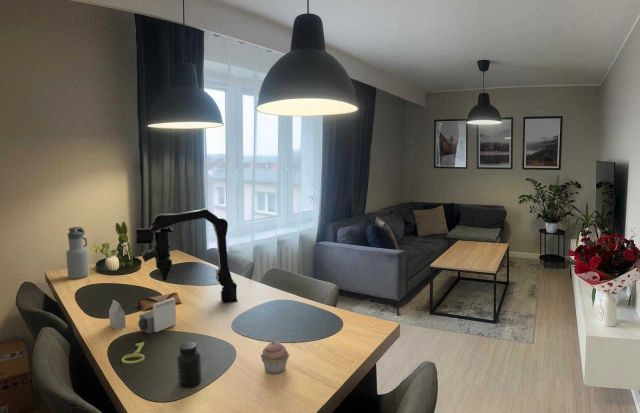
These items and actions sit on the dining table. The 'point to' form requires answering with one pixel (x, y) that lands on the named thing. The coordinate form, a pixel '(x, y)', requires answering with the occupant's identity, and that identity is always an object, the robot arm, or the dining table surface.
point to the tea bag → (117, 316)
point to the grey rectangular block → (146, 322)
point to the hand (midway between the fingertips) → (163, 277)
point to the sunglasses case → (156, 301)
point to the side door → (164, 314)
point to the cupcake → (274, 357)
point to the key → (135, 355)
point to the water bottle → (77, 254)
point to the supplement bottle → (189, 366)
